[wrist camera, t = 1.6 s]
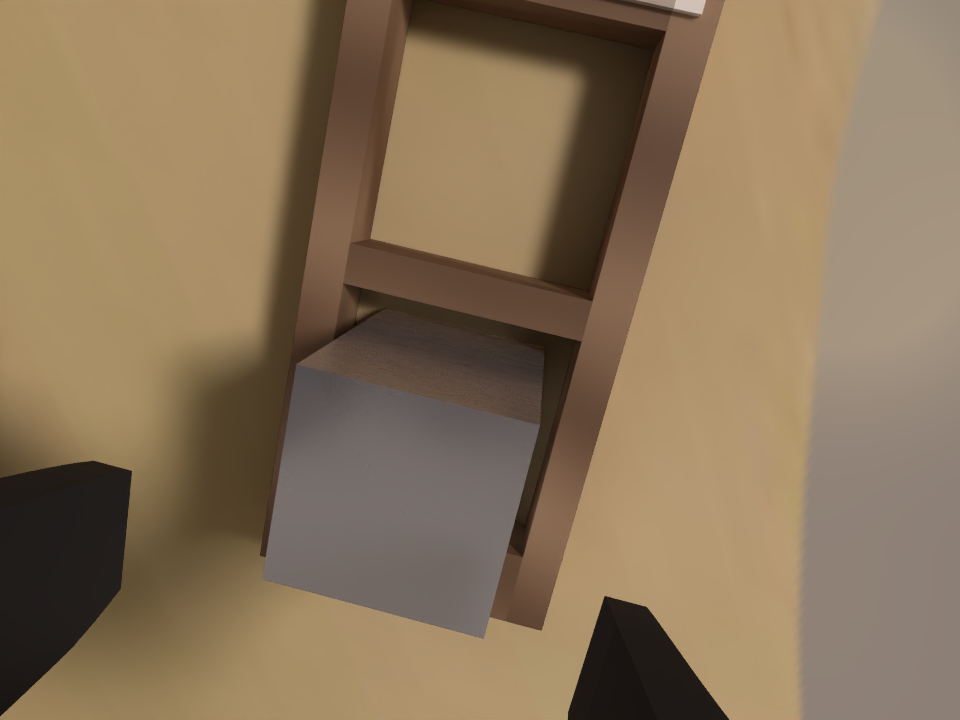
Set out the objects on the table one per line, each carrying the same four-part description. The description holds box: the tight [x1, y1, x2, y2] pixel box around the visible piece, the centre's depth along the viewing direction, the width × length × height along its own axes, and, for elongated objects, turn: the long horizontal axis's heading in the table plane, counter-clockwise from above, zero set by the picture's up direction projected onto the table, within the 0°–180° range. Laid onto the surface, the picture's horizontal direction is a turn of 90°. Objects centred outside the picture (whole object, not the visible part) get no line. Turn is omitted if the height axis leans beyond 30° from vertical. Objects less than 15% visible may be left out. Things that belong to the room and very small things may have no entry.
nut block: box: [262, 308, 545, 639], centre depth 15 cm, size 4×4×6 cm
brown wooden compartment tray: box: [260, 0, 725, 631], centre depth 16 cm, size 24×8×2 cm, turn 167°
